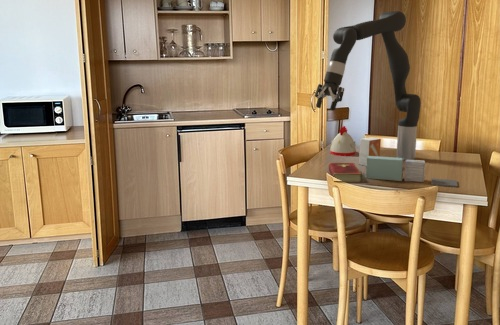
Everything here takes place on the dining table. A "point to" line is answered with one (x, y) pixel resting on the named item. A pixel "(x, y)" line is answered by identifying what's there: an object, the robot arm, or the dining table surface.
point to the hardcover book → (345, 171)
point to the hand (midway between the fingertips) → (324, 109)
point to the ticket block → (384, 168)
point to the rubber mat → (444, 182)
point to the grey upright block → (414, 170)
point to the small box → (368, 149)
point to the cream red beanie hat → (343, 144)
